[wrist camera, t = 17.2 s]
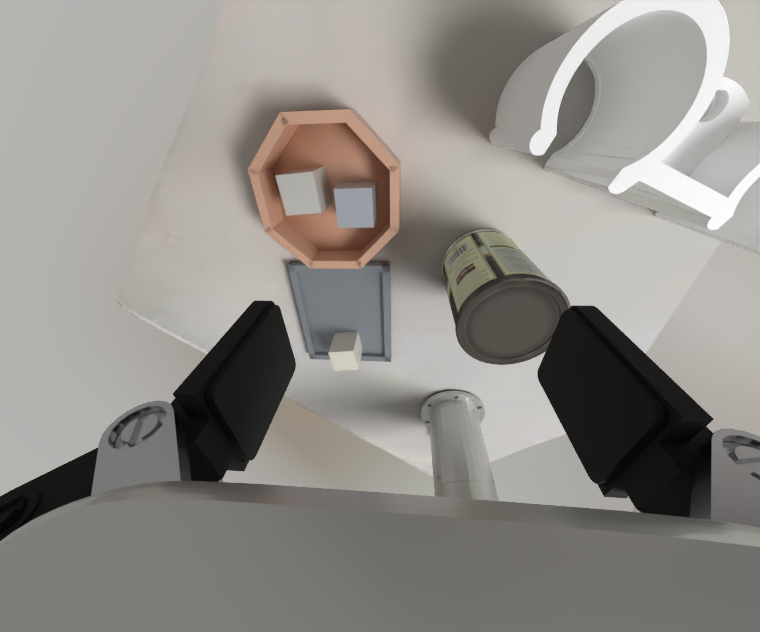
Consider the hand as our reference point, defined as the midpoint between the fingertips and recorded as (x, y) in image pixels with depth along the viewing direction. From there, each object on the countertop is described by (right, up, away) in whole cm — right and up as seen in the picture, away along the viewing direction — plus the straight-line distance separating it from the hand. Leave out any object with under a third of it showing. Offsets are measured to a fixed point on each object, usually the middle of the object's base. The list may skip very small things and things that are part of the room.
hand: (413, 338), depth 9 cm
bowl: (-7, +16, +24) cm, 30 cm away
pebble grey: (-9, +16, +23) cm, 30 cm away
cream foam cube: (-6, -4, +37) cm, 38 cm away
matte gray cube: (-4, +15, +24) cm, 28 cm away
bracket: (+23, +20, +19) cm, 36 cm away
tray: (-7, +1, +35) cm, 35 cm away
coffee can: (+13, +8, +28) cm, 32 cm away
